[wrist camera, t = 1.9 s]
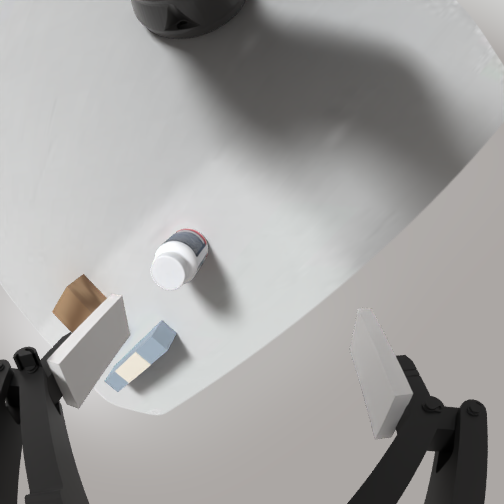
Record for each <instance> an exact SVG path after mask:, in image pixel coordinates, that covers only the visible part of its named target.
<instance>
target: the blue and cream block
mask: <svg viewBox="0 0 504 504" xmlns="http://www.w3.org/2000/svg"><path fill="white" fill-rule="evenodd" d="M176 334H177V333H176V332H175V331H174V330H172V329H171V328H170V327H169V326H168V325H167V324H166V323H164V322H163V321H161V322H160V323H158V324H157V325H156V326H155V327H154V328H153V329H152V330H151V331H150V332H149V333H148V334H147V335H146V336H145V337H144V338H143V339H142V340H141V341H140V342H139V343H138V344H137V345H136V346H135V347H134V348H133V349H132V350H131V351H129V352H128V353H127V354H126V355H125V356H124V357H123V358H122V359H121V360H120V361H119V362H118V363H117V364H116V365H115V366H114V368H113V369H112V371H111V372H110V374H109V375H108V377H107V378H106V380H105V382H106V383H107V384H108V385H110V386H111V387H112V388H113V389H115V390H116V391H117V392H119V391H120V390H121V389H122V388H123V387H125V386H126V385H127V384H128V383H130V382H131V381H132V380H134V379H135V378H136V377H137V376H138V375H140V374H141V373H142V372H143V371H144V370H146V369H147V368H148V367H149V366H150V365H151V364H152V363H153V362H155V361H156V360H157V359H158V358H159V357H161V356H162V355H163V354H164V353H165V352H166V351H168V349H169V347H170V345H171V343H172V341H173V339H174V337H175V335H176Z"/></svg>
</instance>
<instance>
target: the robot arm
mask: <svg viewBox="0 0 504 504" xmlns="http://www.w3.org/2000/svg"><path fill="white" fill-rule="evenodd" d="M131 2H132V6H133V9H134V13H135V15H136V17H137V18H138V20H139V21H140V22H141V23H142V24H143V25H144V26H145V27H147V28H148V29H149V30H150V31H152V32H153V33H155V34H157V35H160V36H163V37H167V38H177V39H179V38H190V37H195V36H199V35H203V34H206V33H208V32H211V31H213V30H215V29H217V28H219V27H220V26H222V25H224V24H225V23H226V22H228V21H229V20H230V19H231V18H233V17H234V16H235V15H236V13H237V12H238V11H239V10H240V9H241V7H242V6H243V4H244V2H245V0H131ZM129 336H130V332H129V327H128V322H127V318H126V313H125V307H124V302H123V297H122V295H114V294H111V295H110V296H109V297H108V298H107V299H106V300H105V301H104V302H103V303H102V304H101V305H100V306H99V307H98V308H97V309H96V310H95V311H94V312H93V313H92V314H91V315H90V316H89V317H88V318H87V319H86V320H85V321H84V322H83V323H82V324H81V325H80V326H79V327H78V328H77V329H76V330H75V331H74V332H73V333H71V332H70V333H68V334H67V335H65V336H63V337H62V338H61V339H60V340H59V341H58V342H57V343H56V344H55V345H54V346H53V348H52V349H50V350H49V352H47V354H46V355H45V356H44V357H43V358H42V359H41V360H40V359H39V356H38V354H37V351H36V349H34V348H32V347H24V348H22V349H20V350H18V351H17V352H16V353H15V354H14V357H13V358H14V360H15V363H16V365H17V367H18V369H14V368H11V366H10V364H9V362H8V361H7V360H0V504H17V493H18V479H19V468H20V459H21V451H22V444H23V453H24V460H25V466H26V473H27V479H28V484H29V489H30V494H28V495H26V496H25V504H89V502H88V499H87V496H86V494H85V491H84V488H83V485H82V482H81V480H80V476H79V473H78V470H77V467H76V464H75V460H74V457H73V454H72V449H71V446H70V442H69V438H68V434H67V430H66V425H65V420H64V416H63V411H62V406H61V403H60V401H59V400H60V399H61V397H62V396H63V398H64V400H65V401H66V403H67V405H70V406H73V407H76V408H80V406H81V405H82V403H83V402H84V400H85V399H86V397H87V396H88V394H89V393H90V391H91V390H92V389H93V387H94V386H95V384H96V383H97V381H98V380H99V378H100V377H101V375H102V374H103V373H104V371H105V370H106V368H107V367H108V365H109V364H110V363H111V361H112V360H113V358H114V357H115V355H116V354H117V353H118V351H119V350H120V348H121V347H122V346H123V344H124V343H125V341H126V340H127V339H128V337H129ZM350 352H351V355H352V358H353V362H354V365H355V369H356V372H357V375H358V379H359V382H360V386H361V389H362V393H363V396H364V400H365V403H366V407H367V410H368V414H369V418H370V422H371V425H372V429H373V434H374V438H375V439H382V438H390V437H392V435H393V433H394V431H395V430H396V431H397V436H396V438H395V439H394V441H393V442H392V444H391V445H390V447H389V448H388V450H387V451H386V453H385V454H384V456H383V457H382V459H381V460H380V462H379V463H378V464H377V466H376V467H375V469H374V470H373V471H372V473H371V474H370V476H369V477H368V478H367V480H366V481H365V482H364V483H363V485H362V486H361V487H360V489H359V490H358V491H357V492H356V494H355V495H354V496H353V497H352V498H351V500H350V501H349V502H348V503H347V504H396V503H397V502H398V500H399V499H400V497H401V496H402V494H403V492H404V491H405V489H406V487H407V486H408V484H409V482H410V481H411V479H412V477H413V475H414V474H415V472H416V470H417V468H418V466H419V465H420V463H421V461H422V459H423V457H424V455H425V453H426V451H435V456H434V462H433V467H432V472H431V477H430V482H429V486H428V491H427V495H426V499H425V503H424V504H484V500H485V491H486V478H487V456H488V451H487V450H488V442H487V441H488V435H487V413H486V408H485V407H484V405H483V404H482V403H480V402H479V401H476V400H467V401H465V402H463V403H462V405H461V406H460V408H454V407H445V406H444V405H443V403H442V402H441V401H440V400H439V399H437V398H436V397H433V396H430V394H429V392H428V390H427V389H426V386H425V384H424V382H423V380H422V378H421V377H420V376H419V372H418V371H417V370H416V367H415V365H414V363H413V361H412V360H411V359H409V358H408V357H407V356H406V355H400V356H395V354H394V352H393V349H392V348H391V345H390V343H389V341H388V339H387V338H386V335H385V333H384V331H383V330H382V328H381V326H380V324H379V322H378V320H377V318H376V316H375V314H374V312H373V310H372V309H371V308H358V311H357V316H356V322H355V326H354V331H353V336H352V341H351V345H350ZM5 401H6V403H5Z"/></svg>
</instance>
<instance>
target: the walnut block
mask: <svg viewBox="0 0 504 504" xmlns="http://www.w3.org/2000/svg"><path fill="white" fill-rule="evenodd" d="M106 299H107V298H106V297H105V296H104V295H103V294H102V293H101V292H100V291H99V290H98V289H97V288H96V287H95V286H94V284H93V283H92V282H91V281H90V280H89V279H88V278H87V277H86V276H85V275H84V274H83V275H82V276H80V277H79V278H78V279H76V280H75V281H74V282H72V283H71V284H70V285H69V286H67V287H66V289H65V291H64V292H63V294H62V296H61V297H60V299H59V301H58V303H57V304H56V306H55V308H54V310H53V311H52V312H53V313H54V314H55V316H56V317H57V318H58V319H59V320H60V321H61V322H62V323H63V324H64V325H65V326H66V327H67V328H68V329H69V330H70V331H71V332H72V333H73V332H74V331H75V330H76V329H77V328H78V327H79V326H80V325H81V324H82V323H83V322H84V321H85V320H86V319H87V318H88V317H89V316H90V315H91V314H92V313H93V312H94V311H95V310H96V309H97V308H98V307H99V306H100V305H101V304H102V303H103V302H104V301H105V300H106Z"/></svg>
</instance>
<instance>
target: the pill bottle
mask: <svg viewBox="0 0 504 504" xmlns="http://www.w3.org/2000/svg"><path fill="white" fill-rule="evenodd" d="M207 254H208V244H207V241H206V239H205V237H204V236H203V235H202V234H201V233H200V232H198V231H197V230H194V229H190V228H185V229H181V230H179V231H177V232H176V233H175V234H173V235H172V236H171V237H170V238H169V239H168V240H167V241H166V242H164V243H163V244H162V245H161V246H160V247H159V248H158V250H157V251H156V254H155V257H154V261H153V263H152V265H151V276H152V279H153V281H154V282H155V283H156V284H157V285H158V286H159V287H161V288H162V289H165V290H176V289H178V288H179V287H181V286H182V285H183V284H185V283H188V282H189V281H191V280H192V279H193V278H194V276H195V275H196V273H197V272H198V270H199V269H200V267H201V265H202V264H203V262H204V261H205V259H206V257H207Z"/></svg>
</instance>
